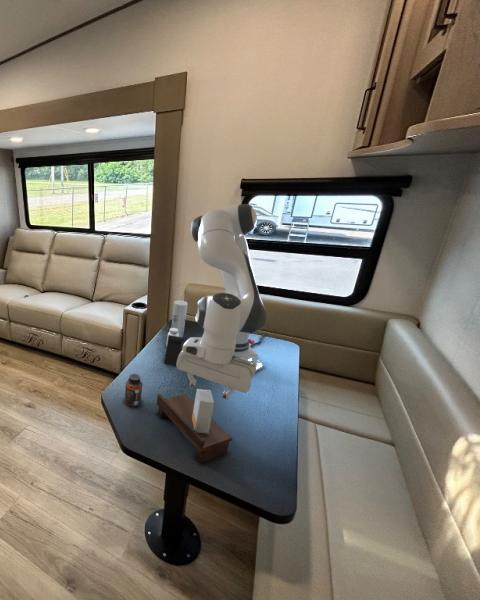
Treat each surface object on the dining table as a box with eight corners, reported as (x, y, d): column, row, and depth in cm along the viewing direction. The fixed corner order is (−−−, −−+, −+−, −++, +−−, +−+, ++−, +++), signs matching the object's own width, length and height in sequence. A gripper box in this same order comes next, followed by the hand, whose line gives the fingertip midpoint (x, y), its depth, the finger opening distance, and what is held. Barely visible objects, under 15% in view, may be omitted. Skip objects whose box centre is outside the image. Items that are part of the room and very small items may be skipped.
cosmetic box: (191, 418, 102) (196, 388, 98) (205, 420, 101) (211, 389, 97) (194, 432, 96) (199, 401, 92) (208, 434, 96) (215, 402, 91)
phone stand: (177, 366, 141) (181, 342, 136) (164, 363, 143) (166, 339, 138) (180, 356, 148) (183, 333, 144) (167, 353, 151) (170, 331, 146)
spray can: (168, 335, 168) (172, 300, 161) (180, 334, 168) (185, 300, 161) (172, 340, 162) (176, 305, 155) (184, 340, 162) (189, 305, 155)
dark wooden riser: (183, 406, 116) (186, 386, 113) (229, 452, 97) (234, 429, 94) (155, 415, 112) (157, 394, 109) (197, 464, 93) (202, 441, 90)
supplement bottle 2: (179, 349, 154) (181, 331, 151) (168, 350, 154) (171, 332, 150) (174, 343, 159) (177, 326, 156) (164, 344, 159) (166, 327, 155)
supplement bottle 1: (140, 408, 115) (142, 382, 111) (124, 406, 116) (125, 380, 112) (140, 398, 121) (143, 373, 116) (125, 395, 122) (126, 371, 118)
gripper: (259, 358, 85) (249, 399, 90) (184, 336, 96) (179, 374, 101) (255, 368, 80) (244, 411, 85) (177, 344, 91) (171, 383, 97)
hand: (208, 391), depth 93 cm, fingers open, 8 cm apart
